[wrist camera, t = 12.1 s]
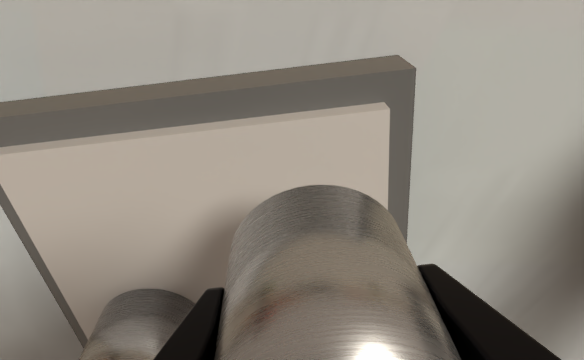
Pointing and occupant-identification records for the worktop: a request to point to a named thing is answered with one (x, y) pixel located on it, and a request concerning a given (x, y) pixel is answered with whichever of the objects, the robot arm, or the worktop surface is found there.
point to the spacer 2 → (326, 284)
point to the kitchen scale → (191, 170)
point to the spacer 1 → (136, 325)
